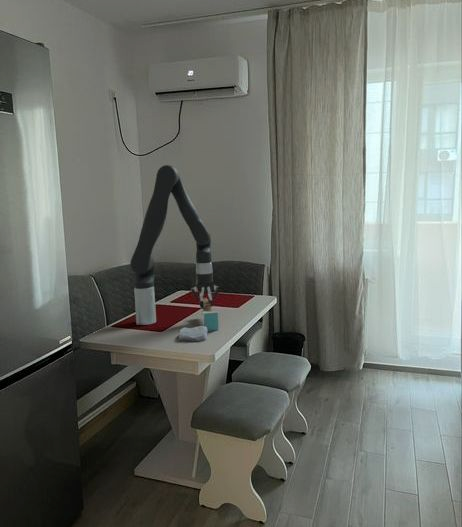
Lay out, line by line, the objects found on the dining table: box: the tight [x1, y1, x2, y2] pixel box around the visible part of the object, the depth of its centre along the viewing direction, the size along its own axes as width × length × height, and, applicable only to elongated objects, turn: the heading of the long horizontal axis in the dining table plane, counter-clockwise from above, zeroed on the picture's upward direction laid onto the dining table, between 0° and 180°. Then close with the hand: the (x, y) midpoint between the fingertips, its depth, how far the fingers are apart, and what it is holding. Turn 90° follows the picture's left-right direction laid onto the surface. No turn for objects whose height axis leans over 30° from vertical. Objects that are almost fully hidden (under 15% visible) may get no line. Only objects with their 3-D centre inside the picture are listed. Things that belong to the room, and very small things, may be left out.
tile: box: [203, 311, 219, 332], centre depth 199 cm, size 6×2×8 cm, turn 101°
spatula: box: [201, 297, 215, 317], centre depth 212 cm, size 5×18×4 cm, turn 11°
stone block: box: [178, 325, 209, 342], centre depth 190 cm, size 12×5×10 cm
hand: (206, 308), depth 213 cm, fingers closed on spatula, 3 cm apart
